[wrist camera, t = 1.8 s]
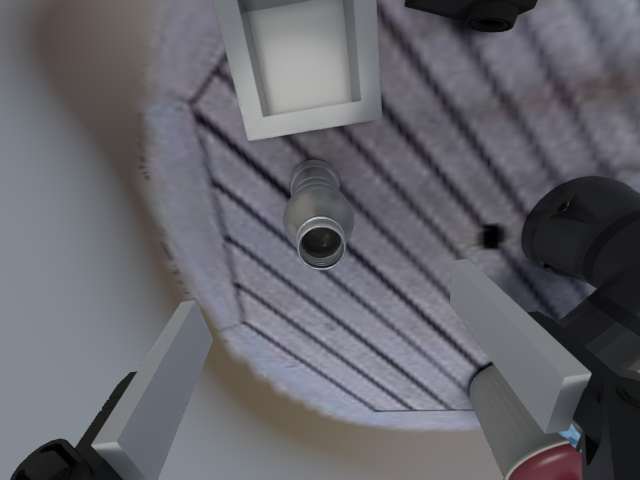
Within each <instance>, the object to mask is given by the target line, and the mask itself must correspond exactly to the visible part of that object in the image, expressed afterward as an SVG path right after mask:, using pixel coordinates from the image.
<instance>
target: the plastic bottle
mask: <svg viewBox="0 0 640 480" xmlns="http://www.w3.org/2000/svg"><path fill="white" fill-rule="evenodd" d="M289 184H290V192H291V196H292V197H291V198H290V200H289V201H288V204H287V206H286V209H285V211H284V217H283V224H284V229H285V232H286V234H287V236H288V238H289V240H290V241H291V243H292V244H293V245H294V246H295V247H296V248H297V251H298V255H299V257H300V259H301V260H302V262H303V263H304V264H305V265H307V266H308V267H310V268H312V269H316V270H328V269H331V268H333V267H335V266H336V265H338V264H339V263H340V262H341V260H342V259H343V257H344V255H345V252H346V243H347V242H348V240H349V238H350V236H351V233H352V230H353V226H354V215H353V211H352V208H351V206H350V204H349V202H348V201H347V199H346V198H345V197H344V196H343V194H342V193H341V192H339V189H340V183H339V178H338V175H337V173H336V172H335V170H334V169H333V168H332V167H331V166H330V165H329V164H328V163H326V162H324V161H320V160H307V161H305V162H303V163H301V164H300V165H298V166H297V167H296V168H295V170H294V171H293V173H292V175H291V177H290V183H289Z"/></svg>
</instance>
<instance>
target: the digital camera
mask: <svg viewBox="0 0 640 480" xmlns="http://www.w3.org/2000/svg"><path fill="white" fill-rule="evenodd" d="M406 1H407V0H406ZM406 1H405V6H406V7H410V8H414V9H418V10H421V11H425V12H429V13H433V14H437V15H441V16H445V17H449V18H453V19H457V20H461V21H465V22H466V23H465V24H466V26H467V27H469V28H471V29H473V30H476V31H482V32H504V31H507V30H510V29H512V28H513V26H514V23H515V21H516V18H517V15H519V14H522V13H524V12H526V11H529V10H531V9H533V8H534V7H535V5H536V3H537V0H408V1H407V2H406Z"/></svg>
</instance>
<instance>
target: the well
mask: <svg viewBox="0 0 640 480" xmlns="http://www.w3.org/2000/svg"><path fill="white" fill-rule="evenodd" d="M213 1H214V5H215V9H216V13H217V17H218V21H219V25H220V29H221V33H222V37H223V41H224V45H225V49H226V53H227V57H228V61H229V65H230V69H231V73H232V77H233V81H234V85H235V89H236V93H237V97H238V101H239V105H240V109H241V114H242V118H243V122H244V126H245V130H246V134H247V138H248V141H252V140H258V139H264V138H270V137H276V136H282V135H288V134H294V133H300V132H306V131H312V130H318V129H324V128H330V127H336V126H342V125H348V124H354V123H360V122H366V121H372V120H378V119H382V107H381V86H380V66H379V45H378V25H377V4H376V0H213Z"/></svg>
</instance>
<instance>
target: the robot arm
mask: <svg viewBox="0 0 640 480" xmlns="http://www.w3.org/2000/svg"><path fill="white" fill-rule="evenodd" d="M522 246H523V250H524V252H525V254H526V256H527V257H528V258H529V259H530V260H531V261H532V262H533V263H535V264H536V265H538V266H539V267H541V268H542V269H544V270H546V271H548V272H550V273H554V274H557V275H561V276H564V277H568V278H572V279H575V280H579V281H582V282H586V283H589V284H590V285H592V286H594V287H595V288H597V289H596V290H595V291H594V292H593V293H592V294H591V295H590V296H588V297H587V298H586V299H585V300H583V301H582V302H581V303H580V304H579V305H578V306H577V307H575V308H574V309H573V310H572V311H571V312H570V313H568V314H567V315H566V316H565V317H564V318H563V319H561V320H560V321H559V322H558V323H556V322H555V321H554V320H553V319H551V318H549V317H547V316H545V315H543V314H541V313H540V312H538V311H536V312H529V313H526V312H525V311H524V310H523V309H522V308H521V307H520V306H519V305H518V304H517V303H516V302H514V301H513V300H512V299H511V298H510V297H509V296H508V295H507V294H506V293H505V292H504V291H503V290H502V289H500V288H499V287H498V286H497V285H496V284H495V283H494V282H493V281H492V280H491V279H490V278H489V277H488V276H486V275H485V274H484V273H483V272H482V271H481V270H480V269H479V268H478V267H477V266H476V265H475V264H474V263H472V262H471V261H470V260H469V259H462V260H455V261H453V266H452V280H451V294H450V305H451V307H452V308H453V309H454V311H455V312H456V313H457V315H458V316H459V318H460V319H461V320H462V322H463V323H464V324H465V326H466V327H467V328H468V330H469V331H470V332H471V334H472V335H473V337H474V338H475V339H476V341H477V342H478V343H479V345H480V346H481V347H482V349H483V350H484V352H485V353H486V354H487V356H488V357H489V358H490V360H491V361H492V362H493V364H494V365H495V367H496V368H497V369H498V371H499V372H500V373H501V375H502V376H503V377H504V379H505V380H506V381H507V383H508V384H509V386H510V387H511V388H512V390H513V391H514V392H515V394H516V395H517V396H518V398H519V399H520V401H521V402H522V403H523V405H524V406H525V407H526V409H527V410H528V411H529V413H530V414H531V416H532V417H533V418H534V420H535V421H536V422H537V424H538V425H539V426H540V428H541V429H542V431H543V432H544V433H545V434H547V433H554V432H558V433H559V434H560V435H562V436H563V437H566V438H567V439H568V441H569V442H570V444H571V445H572V446H573V447H575V451H577V452H581V457H582V480H640V193H638V192H636V191H635V190H633V189H632V188H631V187H629V186H628V185H626V184H624V183H622V182H619V181H616V180H612V179H608V178H603V177H597V176H590V177H583V178H578V179H575V180H572V181H570V182H567V183H565V184H563V185H561V186H559V187H558V188H556V189H555V190H553V191H552V192H550V193H549V194H548V195H547V196H546V197H544V198H543V199H542V200H541V201H540V202H539V204H538V205H537V206H536V207H535V208H534V210H533V211H532V212H531V214H530V216H529V217H528V219H527V221H526V224H525V226H524V230H523V234H522ZM212 341H213V339H212V336H211V334H210V332H209V330H208V327H207V325H206V322H205V320H204V318H203V315H202V313H201V311H200V308H199V306H198V304H197V301H196V300H193V301H187V302H181V303H180V305H179V307H178V308H177V310H176V311H175V313H174V315H173V316H172V318H171V319H170V321H169V322H168V324H167V326H166V327H165V329H164V330H163V332H162V334H161V335H160V337H159V339H158V340H157V341H156V343H155V345H154V346H153V348H152V349H151V351H150V353H149V354H148V356H147V357H146V359H145V360H144V362H143V364H142V365H141V367H140V368H139V370H138V371H137V372H130V373H129V374H128V375H127V376H126V377H125V378H124V379H123V380H122V381H121V382H120V383H119V384H118V385H117V386H116V388H115V389H114V391H113V392H112V394H111V395H110V397H109V400H107V401H106V403H105V404H104V406H103V407H102V411H100V412H99V413H98V415H97V416H96V418H95V419H94V421H93V422H92V423H91V425H90V426H89V428H88V429H87V431H86V432H85V434H84V435H83V437H82V438H81V440H80V441H79V443H78V444H77V446H76V447H75V448H74V447H73V446H72V445H71V444H70V443H69V442H68V441H67V440H65V439H56V440H53V441H50V442H48V443H46V444H44V445H42V446H41V447H39V448H38V449H36V450H35V451H34V452H32V453H31V454H30V455H29V456H28V457H27V458H26V459H25V460H24V461H23V462H22V463H21V464H20V465H19V466H18V468H17V469H16V471H15V472H14V473H13V475H12V477H11V479H10V480H158V478H159V475H160V473H161V470H162V467H163V465H164V462H165V460H166V458H167V455H168V452H169V450H170V447H171V445H172V442H173V440H174V437H175V434H176V432H177V430H178V427H179V424H180V422H181V419H182V417H183V414H184V412H185V409H186V407H187V404H188V402H189V399H190V397H191V394H192V392H193V389H194V386H195V384H196V381H197V379H198V376H199V374H200V371H201V368H202V366H203V364H204V361H205V359H206V356H207V354H208V351H209V348H210V346H211V343H212Z"/></svg>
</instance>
